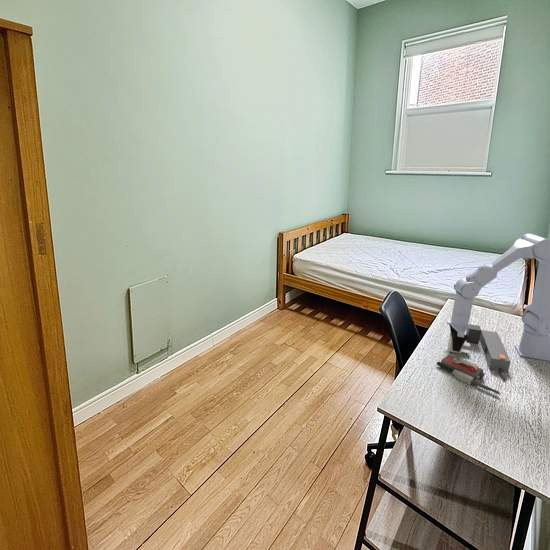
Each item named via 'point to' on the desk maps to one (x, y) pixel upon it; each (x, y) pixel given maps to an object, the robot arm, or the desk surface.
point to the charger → (465, 346)
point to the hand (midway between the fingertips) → (454, 345)
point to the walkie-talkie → (464, 371)
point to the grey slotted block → (490, 348)
